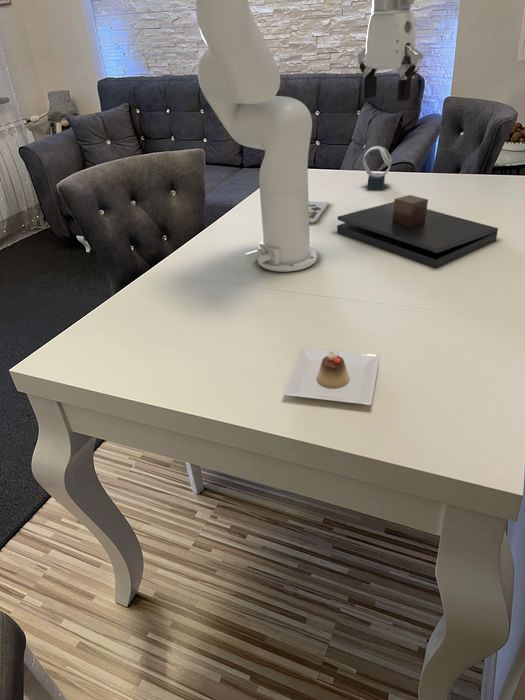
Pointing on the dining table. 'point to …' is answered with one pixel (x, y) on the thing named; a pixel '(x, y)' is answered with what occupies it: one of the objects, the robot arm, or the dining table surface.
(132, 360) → the dining table surface
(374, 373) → the dessert
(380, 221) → the laptop screen
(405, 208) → the block
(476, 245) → the laptop
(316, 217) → the handheld gaming device
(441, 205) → the dining table surface
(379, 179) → the watch
